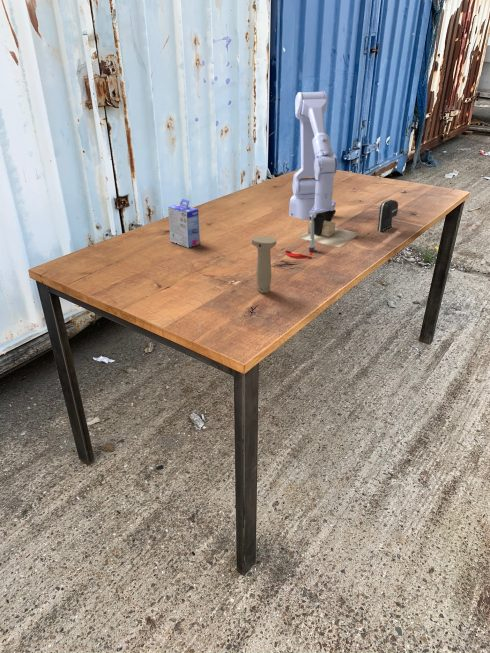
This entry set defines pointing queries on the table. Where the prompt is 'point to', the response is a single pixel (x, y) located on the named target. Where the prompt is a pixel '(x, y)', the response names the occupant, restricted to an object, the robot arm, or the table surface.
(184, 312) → the table surface
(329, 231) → the block
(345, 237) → the beige square mat
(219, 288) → the table surface
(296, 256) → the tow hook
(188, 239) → the ink cartridge box
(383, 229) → the battery charger
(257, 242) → the handle
